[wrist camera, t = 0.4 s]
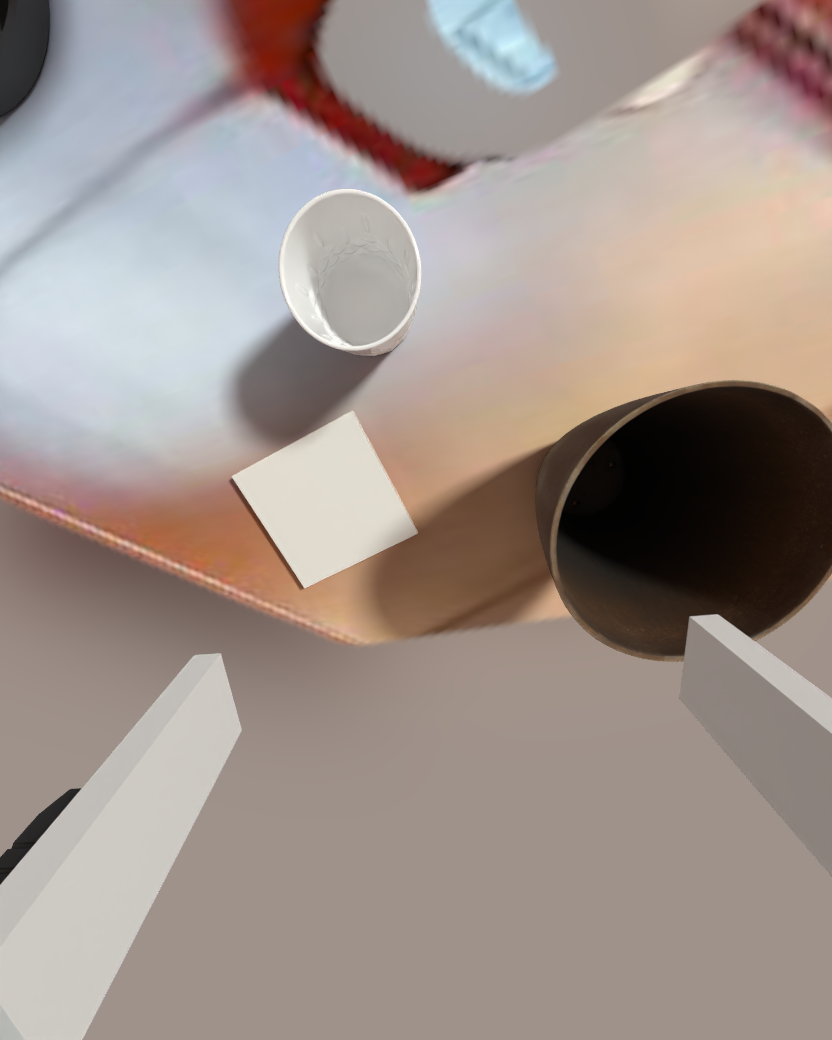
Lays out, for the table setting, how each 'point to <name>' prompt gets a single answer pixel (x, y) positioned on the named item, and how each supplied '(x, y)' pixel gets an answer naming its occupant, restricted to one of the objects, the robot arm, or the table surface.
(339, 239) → the white cup
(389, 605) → the table surface
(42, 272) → the table surface
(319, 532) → the tile
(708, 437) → the plant pot
